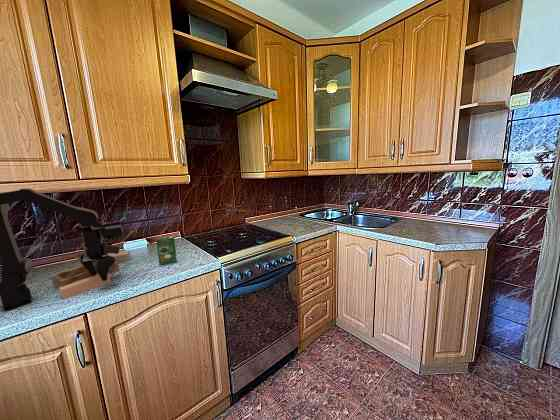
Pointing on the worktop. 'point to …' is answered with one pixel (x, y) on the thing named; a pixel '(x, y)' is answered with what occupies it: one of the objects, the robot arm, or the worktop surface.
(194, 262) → the worktop surface
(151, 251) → the worktop surface
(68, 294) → the clay strip
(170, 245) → the coffee box
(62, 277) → the wooden open tray
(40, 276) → the worktop surface
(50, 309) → the worktop surface
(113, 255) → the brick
